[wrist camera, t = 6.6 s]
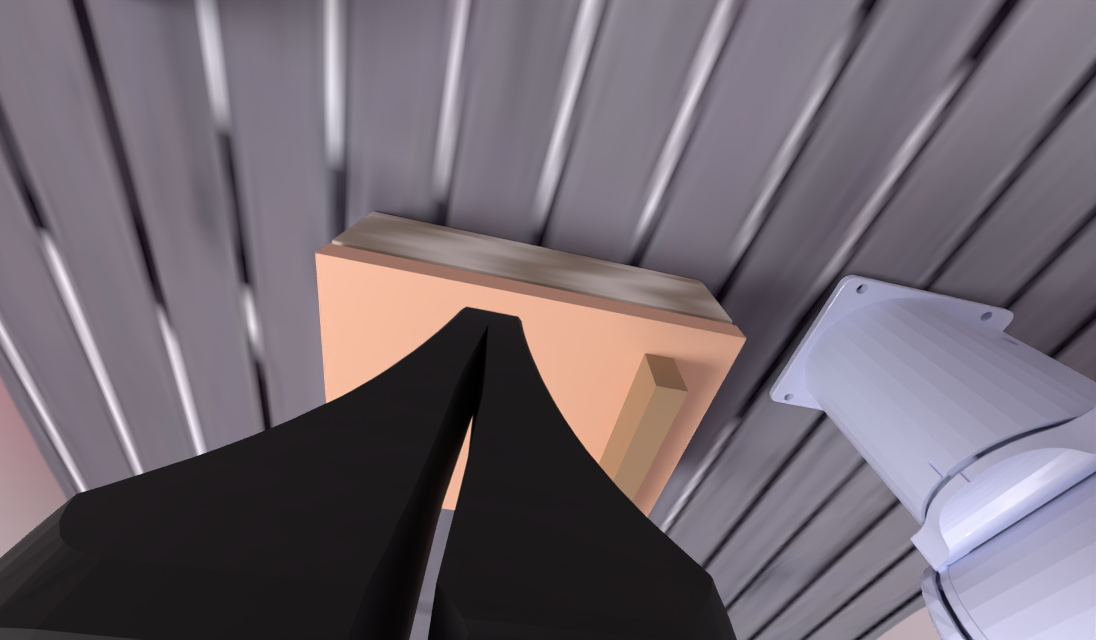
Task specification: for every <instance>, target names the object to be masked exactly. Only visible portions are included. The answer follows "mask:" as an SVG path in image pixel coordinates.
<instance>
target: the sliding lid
mask: <svg viewBox="0 0 1096 640" xmlns="http://www.w3.org/2000/svg"><path fill="white" fill-rule="evenodd" d="M315 255H316V268H317V282H318V296H319V310H320V324H321V337H322V351H323V365H324V379H325V392H326V403H328V402H330V401H332V400H334V399H336V398H339V397H341V396H343V395H344V394H346V393H348V392H350V391H352V390H353V389H355V388H357V387H359V386H360V385H362V384H364V383H366V382H367V381H369V380H371V379H372V378H374V377H376V376H377V375H379V374H380V373H382V372H383V371H385V370H387V369H388V368H390V367H391V366H392V365H394V364H395V363H397V362H398V361H400V360H401V359H402V358H404V357H405V356H407V355H408V354H410V353H411V352H412V351H414V350H415V349H416V348H418V347H419V346H420V345H422V344H423V343H424V342H425V341H426V340H428V339H429V338H430V337H431V336H433V335H434V334H435V333H436V332H438V331H439V330H440V329H441V328H442V327H443V326H444V325H446V324H447V323H448V322H449V321H450V320H451V319H452V318H453V317H454V316H455V315H456V314H457V313H458V312H459V311H460V310H461V309H463V308H465V307H466V306H467V307H472V308H477V309H482V310H487V311H493V312H498V313H503V314H508V315H513V316H518V317H519V318H520V320H521V321H522V326H523V330H524V334H525V337H526V340H527V343H528V346H529V349H530V352H531V354H532V357H533V359H534V361H535V363H536V366H537V368H538V370H539V373H540V375H541V377H542V379H543V381H544V383H545V385H546V387H547V389H548V391H549V392H550V394H551V396H552V398H553V400H554V402H555V403H556V405H557V407H558V408H559V410H560V412H561V413H562V415H563V417H564V418H565V420H566V421H567V423H568V424H569V426H570V427H571V429H572V430H573V432H574V433H575V435H576V436H577V437H578V439H579V440H580V441H581V443H582V444H583V445H584V447H585V448H586V450H587V451H588V452H589V453H590V455H591V456H592V457H593V458H594V459H595V460H596V462H597V463H598V464H599V465H600V466H601V468H602V469H603V470H604V471H605V472H606V474H607V475H608V476H609V477H610V478H611V480H612V481H613V482H614V483H615V484H616V485H617V486H618V488H619V489H620V490H621V491H622V492H623V493H624V494H625V495H626V496H627V497H628V498H629V499H630V500H631V501H632V502H633V503H634V504H635V505H636V506H637V507H638V508H639V509H640V510H641V511H642V513H643V514H644V515H645V516H646V517H648V515H649V513H650V512H651V510H652V508H653V506H654V504H655V503H656V501H657V499H658V497H659V495H660V494H661V492H662V490H663V488H664V486H665V485H666V483H667V481H668V479H669V477H670V476H671V474H672V472H673V470H674V469H675V467H676V465H677V463H678V461H679V460H680V458H681V456H682V454H683V452H684V451H685V449H686V447H687V445H688V443H689V442H690V440H691V438H692V436H693V434H694V433H695V431H696V429H697V427H698V425H699V424H700V422H701V420H702V418H703V416H704V415H705V413H706V411H707V409H708V407H709V406H710V404H711V402H712V400H713V398H714V397H715V395H716V393H717V391H718V389H719V388H720V386H721V384H722V382H723V380H724V379H725V377H726V375H727V373H728V371H729V370H730V368H731V366H732V364H733V362H734V361H735V359H736V357H737V355H738V353H739V352H740V350H741V348H742V346H743V344H744V343H745V341H746V339H747V338H746V337H745V336H744V335H743V333H742V332H741V331H740V329H739V328H738V327H737V326H736V325H732V324H727V323H722V322H717V321H712V320H707V319H702V318H697V317H692V316H687V315H683V314H678V313H673V312H668V311H663V310H658V309H653V308H648V307H643V306H638V305H633V304H628V303H623V302H618V301H613V300H608V299H603V298H598V297H593V296H588V295H583V294H578V293H573V292H568V291H564V290H559V289H554V288H549V287H544V286H539V285H534V284H529V283H524V282H519V281H514V280H509V279H504V278H499V277H494V276H489V275H484V274H479V273H474V272H469V271H464V270H459V269H454V268H449V267H445V266H440V265H435V264H430V263H425V262H420V261H415V260H410V259H405V258H400V257H395V256H390V255H385V254H380V253H375V252H370V251H365V250H360V249H355V248H350V247H345V246H340V245H335V244H330V243H329V244H327V245H326V246H325V247H323V248H322V249H320V250H319V251H318V252H316V253H315ZM472 417H473V416H472ZM471 425H472V419H471V422H470V425H469V428H468V431H467V434H466V437H465V440H464V443H463V446H462V449H461V452H460V455H459V458H458V460H457V463H456V466H455V469H454V472H453V475H452V478H451V481H450V484H449V487H448V490H447V493H446V496H445V499H444V502H443V505H442V508H443V509H450V510H455V507H456V503H457V499H458V495H459V491H460V487H461V483H462V479H463V475H464V471H465V467H466V462H467V458H468V451H469V442H470V434H471Z"/></svg>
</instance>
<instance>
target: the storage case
mask: <svg viewBox="0 0 1096 640" xmlns="http://www.w3.org/2000/svg"><path fill="white" fill-rule="evenodd" d="M332 244H335V245H340V246H345V247H350V248H355V249H360V250H365V251H370V252H375V253H380V254H385V255H390V256H395V257H400V258H405V259H410V260H415V261H420V262H425V263H430V264H435V265H440V266H445V267H449V268H454V269H459V270H464V271H469V272H474V273H479V274H484V275H489V276H494V277H499V278H504V279H509V280H514V281H519V282H524V283H529V284H534V285H539V286H544V287H549V288H554V289H559V290H564V291H568V292H573V293H578V294H583V295H588V296H593V297H598V298H603V299H608V300H613V301H618V302H623V303H628V304H633V305H638V306H643V307H648V308H653V309H658V310H663V311H668V312H673V313H678V314H683V315H687V316H692V317H697V318H702V319H707V320H712V321H717V322H722V323H727V324H732V322H733V321H732V320H731V319H730V317H729V316H728V315H727V313H726V312H725V311H724V310H723V308H722V307H721V306H720V304H719V303H718V302H717V301H716V299H715V298H714V297H713V295H712V294H711V293H710V291H709V290H708V289H707V288H706V286H705V285H704V284H703V282H702V281H699V280H695V279H690V278H685V277H680V276H676V275H671V274H666V273H662V272H657V271H652V270H647V269H643V268H638V267H633V266H629V265H624V264H619V263H614V262H610V261H605V260H600V259H596V258H591V257H586V256H581V255H577V254H572V253H567V252H563V251H558V250H553V249H548V248H544V247H539V246H534V245H530V244H525V243H520V242H515V241H511V240H506V239H501V238H497V237H492V236H487V235H482V234H478V233H473V232H468V231H464V230H459V229H454V228H449V227H445V226H440V225H435V224H430V223H426V222H421V221H416V220H412V219H407V218H402V217H397V216H393V215H388V214H383V213H379V212H374V211H373V212H371V213H370V214H369V215H367V216H366V217H364V218H363V219H361V220H360V221H359V222H357V223H356V224H354V225H353V226H352V227H350V228H349V229H347V230H346V231H345V232H343V233H342V234H340V235H339V236H338V237H336V238H335V239H333V240H332Z"/></svg>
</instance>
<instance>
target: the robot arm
mask: <svg viewBox="0 0 1096 640" xmlns="http://www.w3.org/2000/svg"><path fill="white" fill-rule="evenodd" d="M862 284H863V285H862ZM860 285H862V287H861V288H860V289H858V290H857V288H858V287H859V286H860ZM1013 317H1014V314H1013V313H1012V312H1011V311H1009V310H1006V309H1004V308H1000V307H996V306H991V305H987V304H982V303H978V302H973V301H969V300H964V299H960V298H955V297H951V296H946V295H942V294H937V293H933V292H928V291H924V290H919V289H915V288H910V287H906V286H901V285H897V284H893V283H888V282H884V281H879V280H875V279H870V278H866V277H861V276H857V275H848V276H846V277H844V278H843V279H841V281H840V282H839V283H838V285H837V286H836V288H835V289H834V291H833V293H832V294H831V296H830V297H829V299H828V300H827V302H826V304H825V305H824V307H823V308H822V310H821V311H820V313H819V314H818V316H817V318H816V319H815V321H814V322H813V324H812V325H811V327H810V329H809V330H808V332H807V333H806V335H805V336H804V338H803V339H802V341H801V343H800V344H799V346H798V347H797V349H796V350H795V352H794V354H793V355H792V357H791V358H790V360H789V361H788V363H787V364H786V366H785V368H784V369H783V371H782V372H781V374H780V375H779V377H778V379H777V380H776V382H775V383H774V385H773V386H772V388H771V390H770V392H769V395H770V397H771V398H772V399H773V401H776V402H781V403H786V404H792V405H797V406H803V407H808V408H814V409H819V410H824V411H825V412H826V413H827V415H828V416H829V417H830V418H831V419H832V421H833V422H834V423H835V424H836V425H837V426H838V428H839V429H840V430H841V431H842V432H843V434H844V435H845V436H846V437H847V438H848V440H849V441H850V442H851V443H852V444H853V445H854V447H855V448H856V449H857V450H858V451H859V453H860V454H861V455H862V456H863V457H864V458H865V460H866V461H867V462H868V463H869V464H870V466H871V467H872V468H873V469H874V470H875V472H876V473H877V474H878V475H879V476H880V477H881V479H882V480H883V481H884V482H885V483H886V485H887V486H888V487H889V488H890V489H891V491H892V492H893V493H894V494H895V495H896V496H897V498H898V499H899V500H900V501H901V502H902V504H903V505H904V506H905V507H906V508H907V509H908V511H909V512H910V513H911V514H912V515H913V517H914V518H915V519H916V520H917V521H918V523H919V524H920V525H921V526H922V527H921V529H920V530H919V531H918V532H917V533H915V534H914V535H913V536H912V537H911V541H912V542H913V543H914V545H915V546H916V547H917V548H918V550H919V551H920V552H921V553H922V555H923V556H924V557H925V558H926V560H927V561H928V562H929V563H930V565H931V566H929V567H928V568H926V569H925V571H924V572H923V574H922V576H921V588H922V594H923V597H924V600H925V603H926V606H927V608H928V611H929V615H930V617H931V620H932V622H933V625H934V627H935V629H936V631H937V633H938V635H939V636H940V638H941V640H1096V382H1095V381H1093V380H1091V379H1089V378H1088V377H1086V376H1084V375H1082V374H1080V373H1078V372H1077V371H1075V370H1073V369H1071V368H1069V367H1067V366H1066V365H1064V364H1062V363H1060V362H1058V361H1056V360H1054V359H1053V358H1051V357H1049V356H1047V355H1045V354H1043V353H1042V352H1040V351H1038V350H1036V349H1034V348H1032V347H1031V346H1029V345H1027V344H1025V343H1023V342H1021V341H1019V340H1018V339H1016V338H1014V337H1012V336H1010V335H1008V334H1007V333H1005V332H1003V330H1004V329H1005V328H1006V327H1007V326H1008V325H1009V324H1010V322H1011V321H1012V320H1013ZM787 394H789V395H787ZM786 395H787V396H786ZM472 416H473V417H472ZM471 419H472V425H471V434H470V442H469V451H468V458H467V462H466V467H465V471H464V475H463V479H462V483H461V487H460V491H459V495H458V499H457V503H456V507H455V511H454V515H453V519H452V523H451V527H450V531H449V535H448V539H447V543H446V547H445V551H444V555H443V559H442V563H441V567H440V571H439V575H438V579H437V583H436V589H435V596H434V602H433V609H432V615H431V622H430V628H429V635H428V640H737V639H736V636H735V633H734V630H733V628H732V625H731V622H730V619H729V616H728V614H727V612H726V610H725V607H724V605H723V603H722V600H721V598H720V596H719V594H718V591H717V589H716V586H715V584H714V581H713V578H712V576H711V575H710V574H708V573H707V572H706V571H705V570H704V569H703V568H702V567H701V566H700V565H699V564H697V563H696V562H695V561H694V560H693V559H692V558H691V557H690V556H689V555H688V554H686V553H685V552H684V551H683V550H682V549H681V548H680V547H679V546H678V545H677V544H675V543H674V542H673V541H672V540H671V539H670V538H669V537H668V536H667V535H666V534H664V533H663V532H662V531H661V530H660V529H659V528H658V527H657V526H656V525H654V524H653V523H652V522H651V521H650V520H649V519H648V518H647V517H646V516H645V515H644V514H643V513H642V511H641V510H640V509H639V508H638V507H637V506H636V505H635V504H634V503H633V502H632V501H631V500H630V499H629V498H628V497H627V496H626V495H625V494H624V493H623V492H622V491H621V490H620V489H619V488H618V486H617V485H616V484H615V483H614V482H613V481H612V480H611V478H610V477H609V476H608V475H607V474H606V472H605V471H604V470H603V469H602V468H601V466H600V465H599V464H598V463H597V462H596V460H595V459H594V458H593V457H592V456H591V455H590V453H589V452H588V451H587V450H586V448H585V447H584V445H583V444H582V443H581V441H580V440H579V439H578V437H577V436H576V435H575V433H574V432H573V430H572V429H571V427H570V426H569V424H568V423H567V421H566V420H565V418H564V417H563V415H562V413H561V412H560V410H559V408H558V407H557V405H556V403H555V402H554V400H553V398H552V396H551V394H550V392H549V391H548V389H547V387H546V385H545V383H544V381H543V379H542V377H541V375H540V373H539V370H538V368H537V366H536V363H535V361H534V359H533V357H532V354H531V352H530V349H529V346H528V343H527V340H526V337H525V334H524V330H523V326H522V321H521V320H520V318H519V317H518V316H513V315H508V314H503V313H498V312H493V311H487V310H482V309H477V308H472V307H467V306H466V307H465V308H463V309H461V310H460V311H459V312H458V313H457V314H456V315H455V316H454V317H453V318H452V319H451V320H450V321H449V322H448V323H447V324H446V325H444V326H443V327H442V328H441V329H440V330H439V331H438V332H436V333H435V334H434V335H433V336H431V337H430V338H429V339H428V340H426V341H425V342H424V343H423V344H422V345H420V346H419V347H418V348H416V349H415V350H414V351H412V352H411V353H410V354H408V355H407V356H405V357H404V358H402V359H401V360H400V361H398V362H397V363H395V364H394V365H392V366H391V367H390V368H388V369H387V370H385V371H383V372H382V373H380V374H379V375H377V376H376V377H374V378H372V379H371V380H369V381H367V382H366V383H364V384H362V385H360V386H359V387H357V388H355V389H353V390H352V391H350V392H348V393H346V394H344V395H343V396H341V397H339V398H336V399H334V400H332V401H330V402H328V403H326V404H324V405H322V406H319V407H317V408H315V409H313V410H311V411H309V412H307V413H305V414H302V415H300V416H298V417H296V418H294V419H292V420H289V421H287V422H285V423H282V424H280V425H278V426H275V427H273V428H270V429H268V430H265V431H263V432H260V433H258V434H255V435H253V436H250V437H248V438H245V439H242V440H240V441H237V442H234V443H232V444H229V445H226V446H224V447H221V448H218V449H216V450H213V451H210V452H207V453H204V454H201V455H199V456H196V457H193V458H190V459H187V460H184V461H181V462H177V463H174V464H171V465H168V466H165V467H162V468H159V469H156V470H152V471H149V472H146V473H143V474H140V475H137V476H134V477H131V478H127V479H124V480H121V481H118V482H115V483H112V484H109V485H106V486H102V487H99V488H95V489H92V490H89V491H85V492H82V493H79V494H76V495H75V496H74V497H72V498H71V499H70V500H69V501H67V502H66V503H65V504H64V505H63V506H61V507H60V508H59V509H57V510H56V511H55V512H54V513H53V514H51V515H50V516H49V517H48V518H47V519H45V520H44V521H43V522H42V523H41V524H40V525H38V526H37V527H36V528H35V529H33V530H32V531H31V532H30V533H29V534H28V535H26V536H25V537H24V538H23V539H22V540H21V541H20V542H18V543H17V544H16V545H15V546H14V547H12V548H11V549H10V550H9V551H8V552H7V553H6V554H4V555H3V556H2V557H1V558H0V640H409V638H410V634H411V630H412V625H413V621H414V617H415V613H416V609H417V604H418V600H419V596H420V592H421V588H422V584H423V579H424V575H425V571H426V567H427V563H428V559H429V555H430V551H431V546H432V542H433V538H434V534H435V530H436V526H437V522H438V518H439V515H440V512H441V508H442V505H443V502H444V499H445V496H446V493H447V490H448V487H449V484H450V481H451V478H452V475H453V472H454V469H455V466H456V463H457V460H458V458H459V455H460V452H461V449H462V446H463V443H464V440H465V437H466V434H467V431H468V428H469V425H470V422H471Z"/></svg>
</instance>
